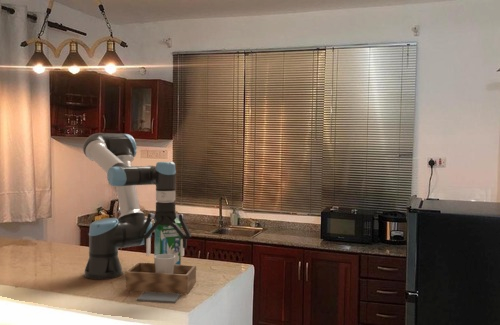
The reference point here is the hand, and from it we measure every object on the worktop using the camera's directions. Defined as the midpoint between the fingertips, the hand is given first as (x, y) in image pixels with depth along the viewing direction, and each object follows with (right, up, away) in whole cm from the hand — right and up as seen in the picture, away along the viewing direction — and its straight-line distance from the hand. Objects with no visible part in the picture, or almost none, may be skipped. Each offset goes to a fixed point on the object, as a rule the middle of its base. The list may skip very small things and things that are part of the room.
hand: (165, 255), depth 173 cm
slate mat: (0, -13, -12) cm, 18 cm away
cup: (0, -13, +1) cm, 13 cm away
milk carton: (-3, -12, +18) cm, 22 cm away
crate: (-1, -12, +1) cm, 12 cm away
